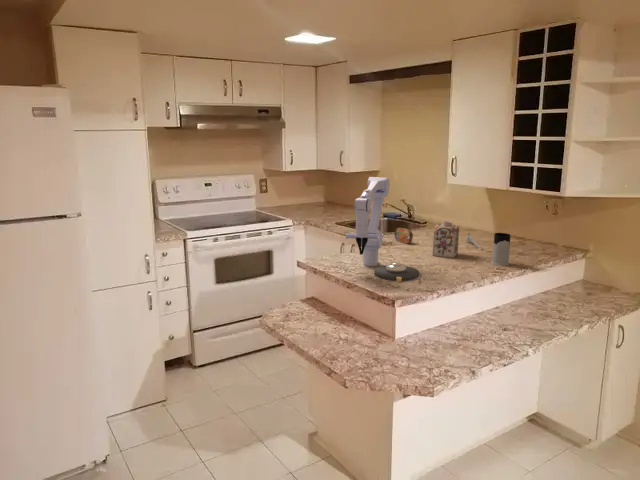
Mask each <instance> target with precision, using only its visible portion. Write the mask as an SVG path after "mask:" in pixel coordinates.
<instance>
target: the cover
mask: <svg viewBox="0 0 640 480" xmlns="http://www.w3.org/2000/svg"><path fill="white" fill-rule="evenodd" d="M385 266H386V271H387V272H389V273H395V274H400V273H405V272H406V266H407V265H406V264H404V263H401V262H398V261H397V262H395V261H394V262H391V263H386V264H385Z"/></svg>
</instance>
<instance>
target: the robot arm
mask: <svg viewBox="0 0 640 480" xmlns="http://www.w3.org/2000/svg"><path fill="white" fill-rule="evenodd" d="M390 182H391V180H390V179H389V177H388V176H387V177H376V176H369V177H368V179H367V182H366V183H367V189H364V190H363V191H362V193H361V195H360V197H357V198H355V200H354V204H353V206H354V207H353V209H354V214H355V232H354V233H345V239H355V241H356V244H357V247H358V250H359V255H360V256H361V255H363V256H362V257H363V258H362V259H363V262H362V265H364V266H368V267H373V266H379V250H380V249H381V248H382V246H383V237H384V236H383V233H382V232H381V230H380V229H379V226H380V221H381V215H382V209H383V204H384V200H385V198H386V197H387V196H388V195H389V191H390V185H391V184H390ZM369 215H370V216H369Z"/></svg>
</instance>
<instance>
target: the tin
mask: <svg viewBox="0 0 640 480" xmlns="http://www.w3.org/2000/svg"><path fill="white" fill-rule="evenodd" d="M413 238H414V234H413V232H412V230H410V229H408V228H403V227H396V229H395V230H394V239H395V241H397V243H398V242H399V243H402V244H407V245H408V244H411V243H412V241H413Z"/></svg>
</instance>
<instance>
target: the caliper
mask: <svg viewBox="0 0 640 480" xmlns="http://www.w3.org/2000/svg"><path fill="white" fill-rule="evenodd" d="M465 237H466V238H465V242H466V241H467V242H469V243H472V244H473V245H474V246H475V247H476V248H477V247H478V248H482V247H481V245H480V244H478V243H477V241H475V240H474V238H473V236H471V234H470V232H467V234H466V236H465ZM467 242H466V243H467ZM478 248H477V249H478ZM482 249H483V248H482Z"/></svg>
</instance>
